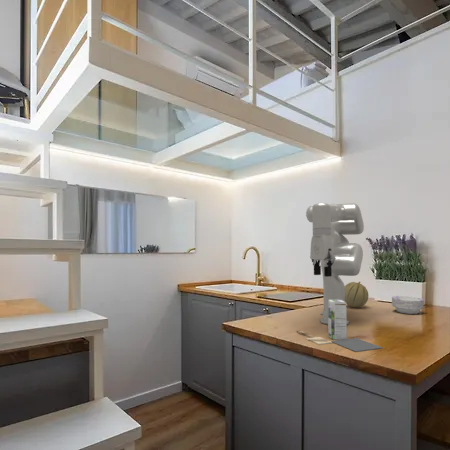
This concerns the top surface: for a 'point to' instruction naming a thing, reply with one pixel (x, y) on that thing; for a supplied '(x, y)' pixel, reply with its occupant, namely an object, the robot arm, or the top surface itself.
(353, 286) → the cantaloupe
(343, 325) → the syrup box
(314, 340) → the turner
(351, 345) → the mat
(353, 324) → the top surface
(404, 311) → the paper bowls
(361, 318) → the top surface
